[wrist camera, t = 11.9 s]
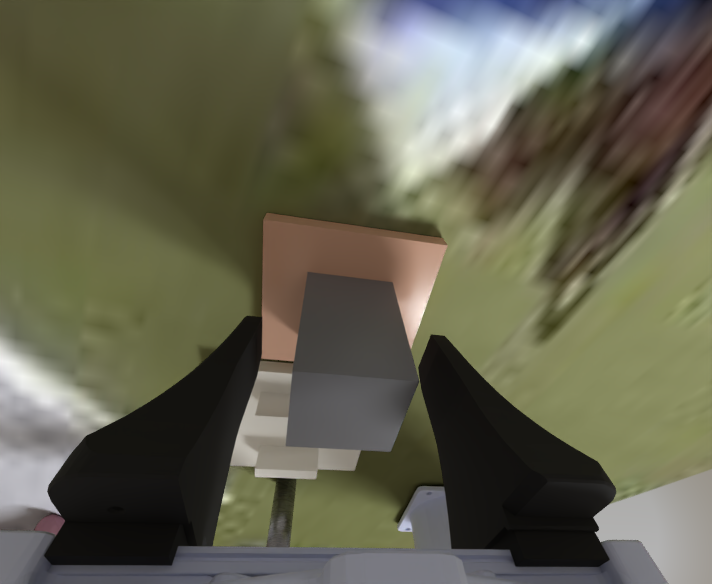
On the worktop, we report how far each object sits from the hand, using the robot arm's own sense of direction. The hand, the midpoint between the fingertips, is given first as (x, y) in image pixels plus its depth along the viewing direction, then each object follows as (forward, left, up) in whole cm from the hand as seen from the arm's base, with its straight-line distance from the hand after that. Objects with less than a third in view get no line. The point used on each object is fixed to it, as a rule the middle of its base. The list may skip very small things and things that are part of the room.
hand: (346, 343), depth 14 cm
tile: (0, 0, -3) cm, 3 cm away
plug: (0, 0, -3) cm, 3 cm away
